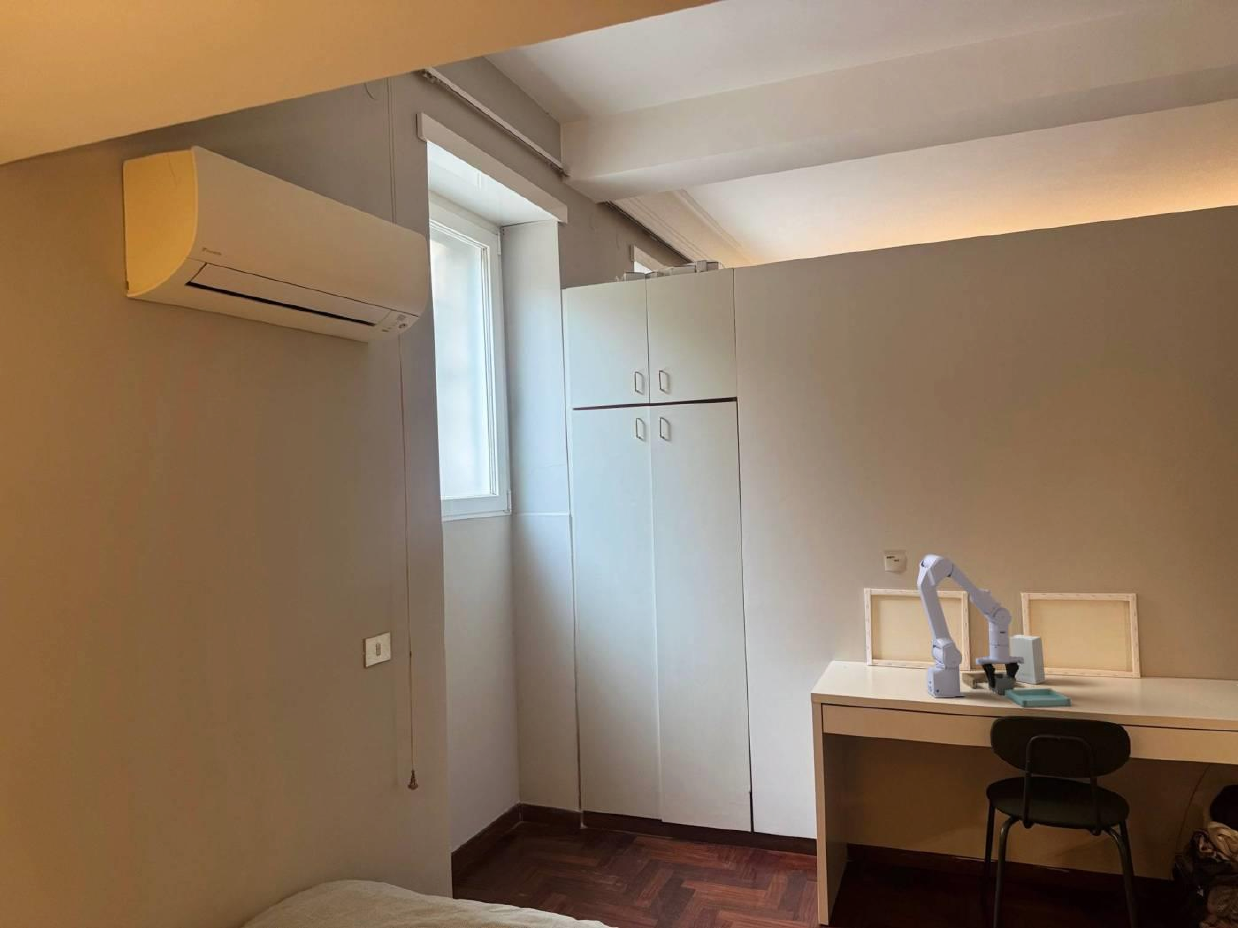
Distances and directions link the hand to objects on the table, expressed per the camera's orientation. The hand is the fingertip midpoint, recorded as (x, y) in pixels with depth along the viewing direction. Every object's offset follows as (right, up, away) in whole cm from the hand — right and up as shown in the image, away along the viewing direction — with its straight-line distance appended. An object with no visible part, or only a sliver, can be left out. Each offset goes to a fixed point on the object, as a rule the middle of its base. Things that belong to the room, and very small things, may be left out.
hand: (1000, 686), depth 264 cm
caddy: (0, -2, 0) cm, 2 cm away
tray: (+6, -1, -11) cm, 13 cm away
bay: (0, -2, +8) cm, 9 cm away
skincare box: (+14, -1, +11) cm, 18 cm away
